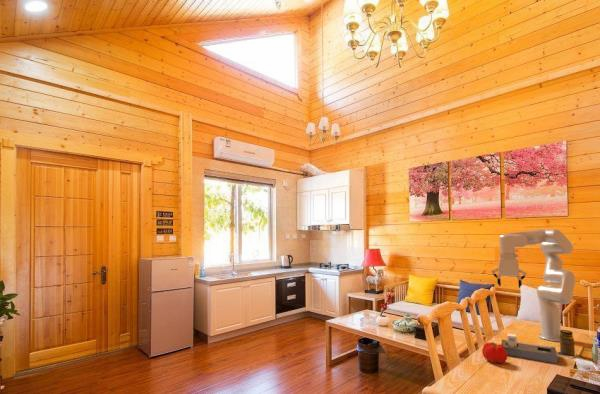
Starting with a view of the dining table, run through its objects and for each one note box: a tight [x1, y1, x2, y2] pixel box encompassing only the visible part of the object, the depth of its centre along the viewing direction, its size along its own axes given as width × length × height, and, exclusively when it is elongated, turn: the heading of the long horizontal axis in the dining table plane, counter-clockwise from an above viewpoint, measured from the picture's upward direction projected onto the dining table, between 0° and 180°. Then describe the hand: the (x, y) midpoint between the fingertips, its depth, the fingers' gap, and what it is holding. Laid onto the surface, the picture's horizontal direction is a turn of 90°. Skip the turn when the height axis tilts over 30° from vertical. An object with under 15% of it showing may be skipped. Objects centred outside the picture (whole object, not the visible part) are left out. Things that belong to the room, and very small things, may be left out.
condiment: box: [556, 329, 579, 359], centre depth 180 cm, size 7×8×12 cm
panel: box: [500, 339, 559, 365], centre depth 179 cm, size 14×24×4 cm, turn 57°
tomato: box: [481, 341, 508, 364], centre depth 170 cm, size 11×11×9 cm
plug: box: [506, 333, 518, 347], centre depth 182 cm, size 5×4×9 cm
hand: (509, 286), depth 194 cm, fingers open, 9 cm apart
